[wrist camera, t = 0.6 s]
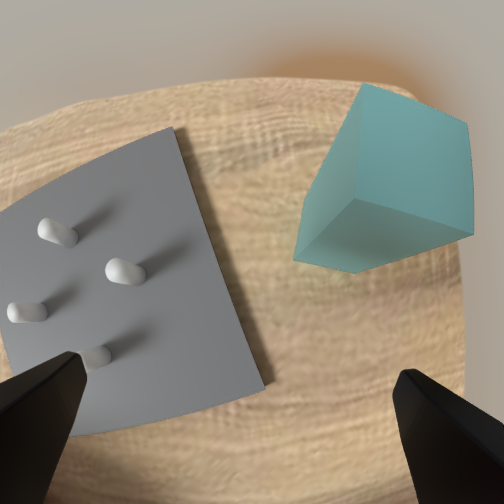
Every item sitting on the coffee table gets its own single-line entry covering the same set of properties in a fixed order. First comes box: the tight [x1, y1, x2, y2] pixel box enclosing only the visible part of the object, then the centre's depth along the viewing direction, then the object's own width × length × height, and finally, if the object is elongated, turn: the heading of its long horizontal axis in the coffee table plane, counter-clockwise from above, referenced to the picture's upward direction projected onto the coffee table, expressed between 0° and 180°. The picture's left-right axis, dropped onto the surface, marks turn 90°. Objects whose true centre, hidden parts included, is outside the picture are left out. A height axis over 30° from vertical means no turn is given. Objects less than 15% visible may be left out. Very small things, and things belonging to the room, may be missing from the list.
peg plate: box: [0, 126, 266, 437], centre depth 19 cm, size 20×20×4 cm
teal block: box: [293, 83, 474, 273], centre depth 15 cm, size 4×4×13 cm
